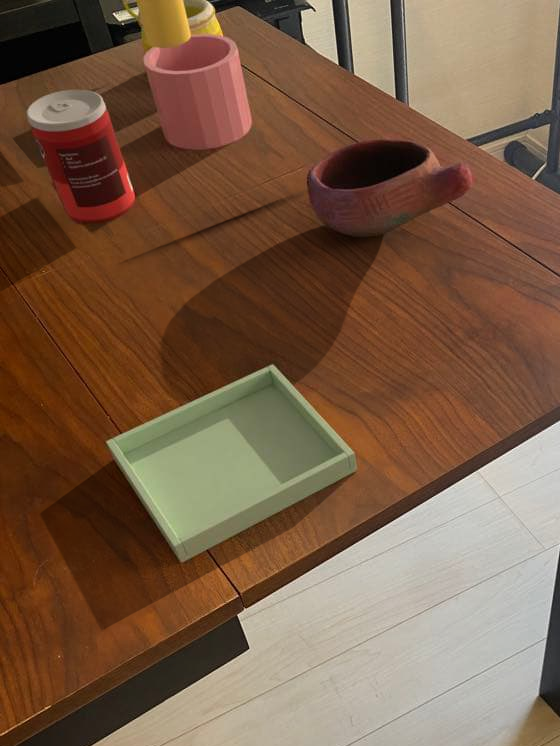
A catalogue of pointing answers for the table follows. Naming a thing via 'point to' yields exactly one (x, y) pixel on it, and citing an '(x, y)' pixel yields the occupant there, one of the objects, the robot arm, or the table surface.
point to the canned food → (82, 155)
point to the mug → (197, 16)
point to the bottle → (164, 22)
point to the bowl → (381, 186)
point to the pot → (199, 92)
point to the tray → (230, 460)
